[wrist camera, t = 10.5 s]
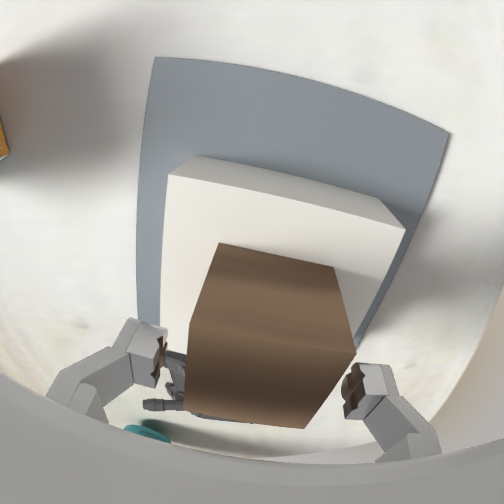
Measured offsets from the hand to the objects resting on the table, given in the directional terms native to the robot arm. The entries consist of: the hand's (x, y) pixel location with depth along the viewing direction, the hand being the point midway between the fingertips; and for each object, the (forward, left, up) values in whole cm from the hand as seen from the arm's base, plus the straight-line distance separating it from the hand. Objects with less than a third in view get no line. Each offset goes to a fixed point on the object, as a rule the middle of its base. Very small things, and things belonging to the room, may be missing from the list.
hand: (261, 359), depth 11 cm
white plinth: (0, 0, -8) cm, 8 cm away
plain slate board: (0, 0, -8) cm, 8 cm away
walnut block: (0, 0, -4) cm, 4 cm away
